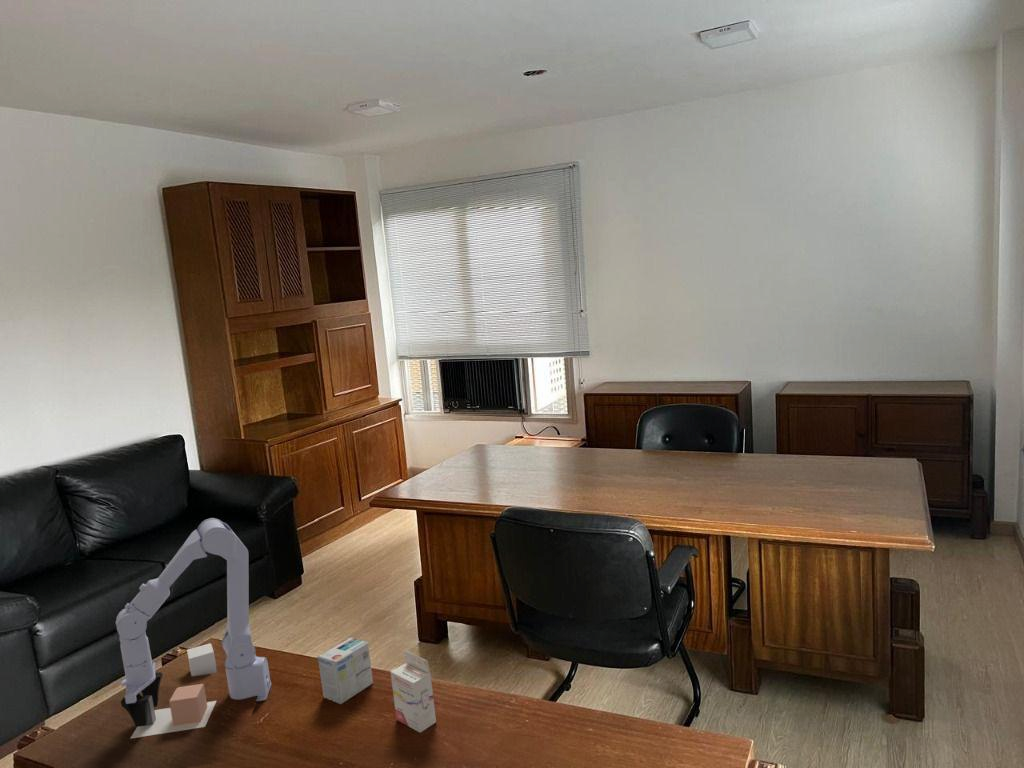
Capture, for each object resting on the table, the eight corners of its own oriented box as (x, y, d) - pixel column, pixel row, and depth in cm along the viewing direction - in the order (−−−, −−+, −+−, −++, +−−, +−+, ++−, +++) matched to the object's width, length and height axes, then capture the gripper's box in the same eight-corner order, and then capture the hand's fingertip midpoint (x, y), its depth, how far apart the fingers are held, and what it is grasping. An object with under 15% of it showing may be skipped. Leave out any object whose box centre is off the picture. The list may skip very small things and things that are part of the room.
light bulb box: (355, 676, 192) (350, 636, 191) (374, 683, 188) (369, 641, 187) (322, 698, 184) (316, 655, 182) (341, 705, 180) (335, 661, 178)
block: (207, 707, 182) (203, 683, 181) (200, 721, 176) (196, 697, 175) (181, 711, 181) (177, 687, 181) (173, 725, 176) (169, 701, 175)
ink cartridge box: (394, 720, 171) (387, 658, 169) (412, 710, 175) (404, 649, 173) (420, 733, 166) (412, 669, 163) (437, 722, 169) (430, 659, 167)
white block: (190, 671, 204) (186, 649, 203) (214, 664, 206) (210, 642, 205) (192, 680, 198) (188, 658, 197) (217, 673, 201) (213, 651, 200)
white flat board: (217, 704, 185) (212, 677, 184) (205, 730, 174) (200, 701, 173) (147, 715, 183) (142, 687, 182) (130, 742, 172) (125, 713, 171)
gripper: (130, 648, 182) (139, 701, 184) (106, 679, 168) (117, 737, 170) (161, 643, 183) (170, 696, 185) (140, 674, 169) (150, 731, 171)
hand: (147, 715), depth 178 cm, fingers open, 7 cm apart
